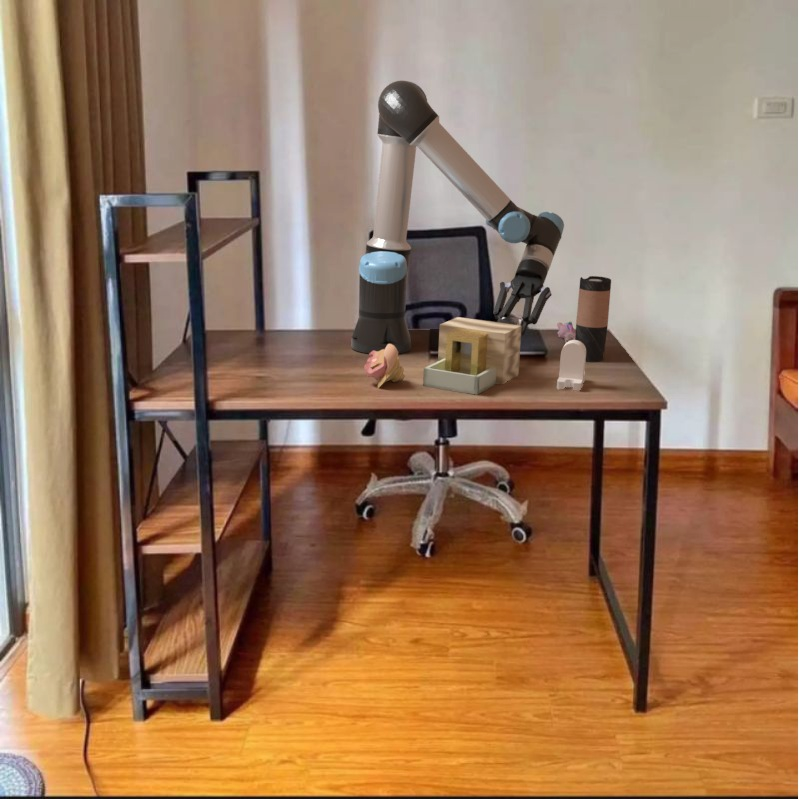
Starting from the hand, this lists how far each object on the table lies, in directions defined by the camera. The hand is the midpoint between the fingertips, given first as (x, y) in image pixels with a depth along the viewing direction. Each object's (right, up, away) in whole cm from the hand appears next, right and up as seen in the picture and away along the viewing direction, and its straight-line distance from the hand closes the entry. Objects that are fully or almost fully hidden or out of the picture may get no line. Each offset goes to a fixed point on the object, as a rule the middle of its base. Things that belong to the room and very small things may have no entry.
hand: (505, 343), depth 247 cm
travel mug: (+21, -4, +6) cm, 22 cm away
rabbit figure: (+19, +2, +25) cm, 31 cm away
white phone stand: (+13, -11, -18) cm, 25 cm away
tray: (-12, -10, -21) cm, 27 cm away
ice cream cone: (-29, -10, -22) cm, 38 cm away
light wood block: (-7, -8, -12) cm, 17 cm away
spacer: (-11, -8, -19) cm, 24 cm away
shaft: (-4, 0, -8) cm, 9 cm away
